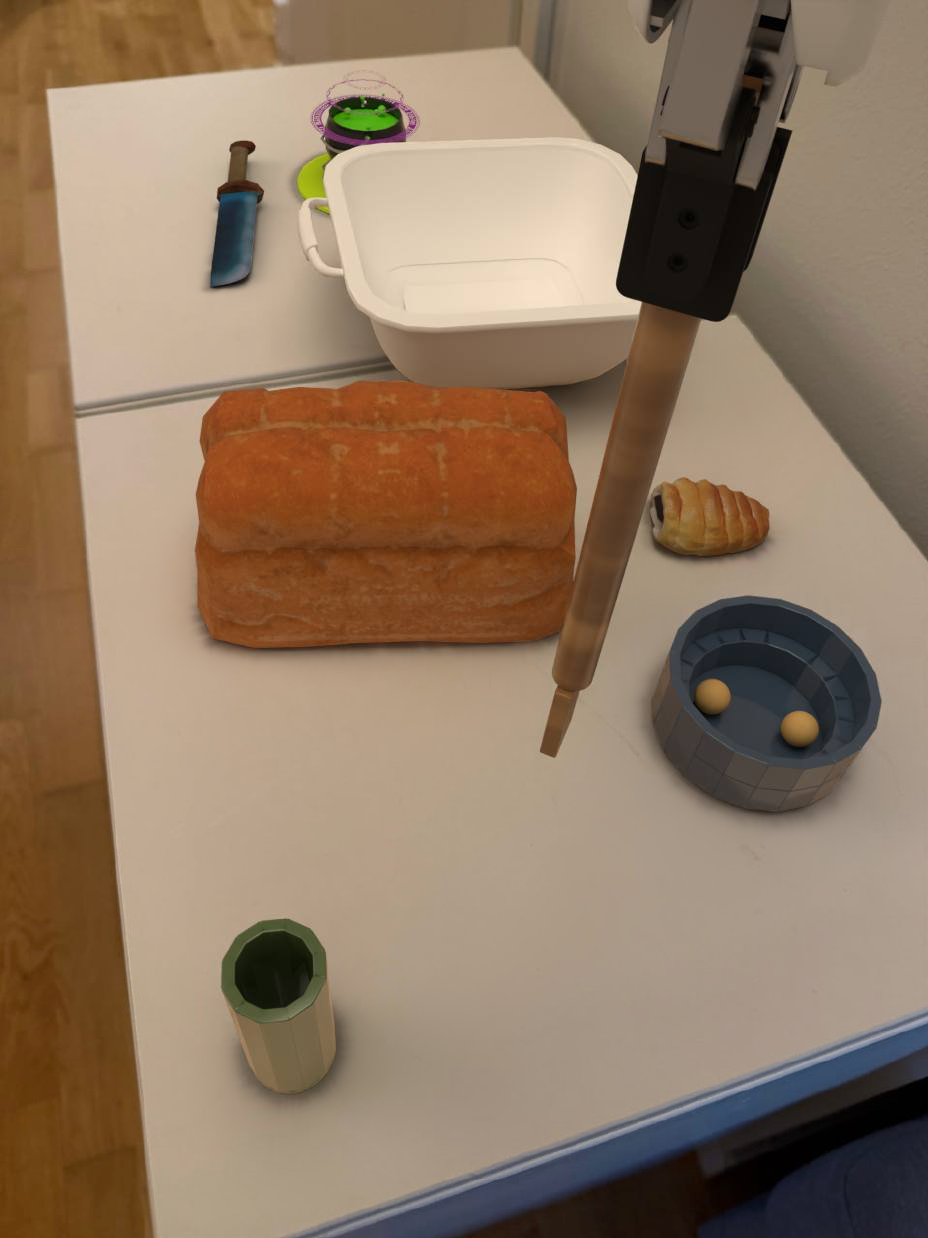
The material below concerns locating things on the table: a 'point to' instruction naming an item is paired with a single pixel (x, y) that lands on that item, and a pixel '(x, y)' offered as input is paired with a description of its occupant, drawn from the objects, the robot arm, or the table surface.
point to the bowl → (765, 702)
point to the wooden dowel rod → (620, 496)
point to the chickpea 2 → (799, 729)
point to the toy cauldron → (353, 132)
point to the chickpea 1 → (712, 696)
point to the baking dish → (484, 256)
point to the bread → (384, 515)
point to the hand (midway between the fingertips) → (683, 276)
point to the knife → (235, 219)
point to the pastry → (706, 518)
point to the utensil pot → (281, 1003)
